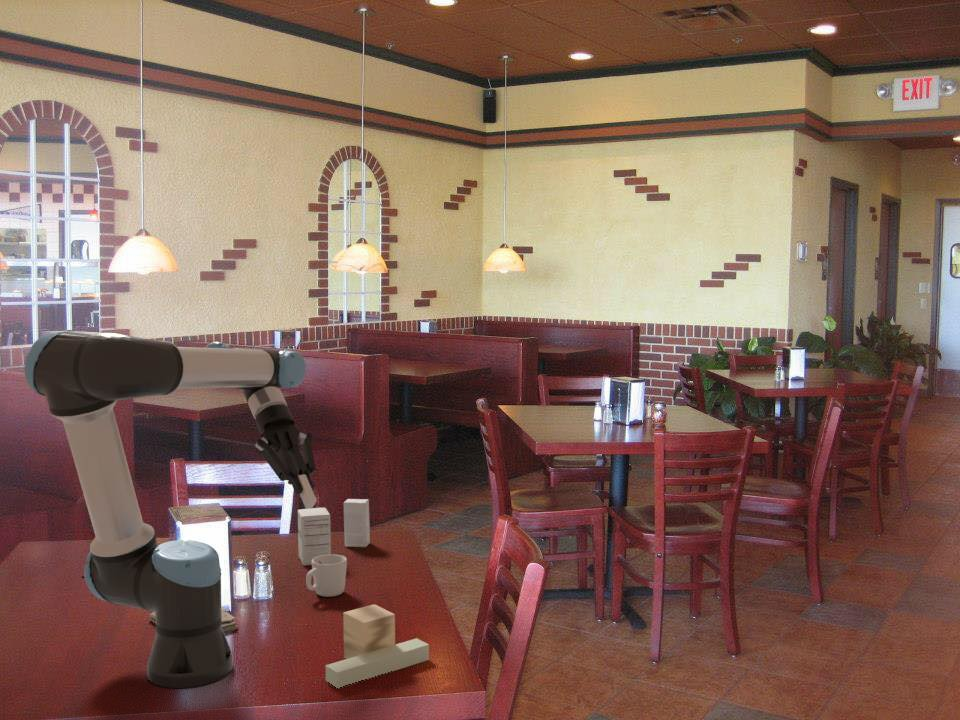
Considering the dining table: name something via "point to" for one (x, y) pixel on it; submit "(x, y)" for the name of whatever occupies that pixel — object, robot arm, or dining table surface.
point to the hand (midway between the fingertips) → (311, 504)
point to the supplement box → (313, 534)
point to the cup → (327, 575)
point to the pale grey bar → (377, 662)
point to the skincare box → (356, 523)
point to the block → (367, 630)
